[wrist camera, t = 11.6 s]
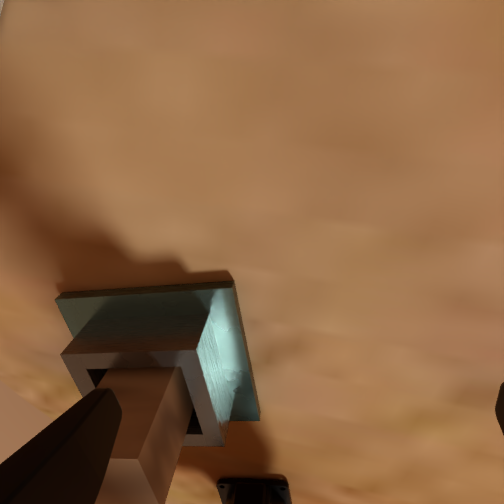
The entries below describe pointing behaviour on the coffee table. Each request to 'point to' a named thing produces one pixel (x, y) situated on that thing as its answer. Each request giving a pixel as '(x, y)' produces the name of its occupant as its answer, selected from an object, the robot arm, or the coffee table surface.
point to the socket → (168, 346)
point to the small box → (1, 5)
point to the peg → (146, 433)
